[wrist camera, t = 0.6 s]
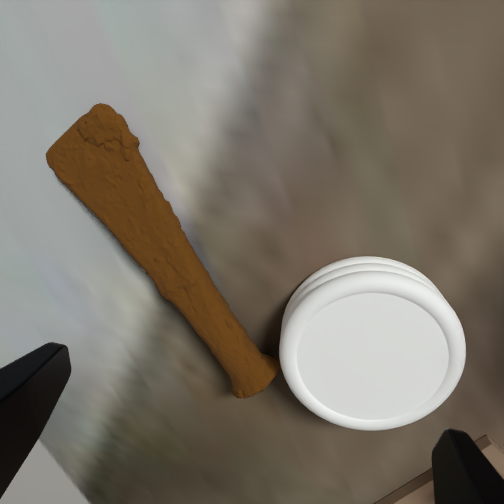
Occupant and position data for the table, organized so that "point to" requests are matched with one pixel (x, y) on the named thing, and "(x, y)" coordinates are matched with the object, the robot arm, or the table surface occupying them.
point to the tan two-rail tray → (421, 488)
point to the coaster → (370, 344)
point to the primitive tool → (154, 237)
